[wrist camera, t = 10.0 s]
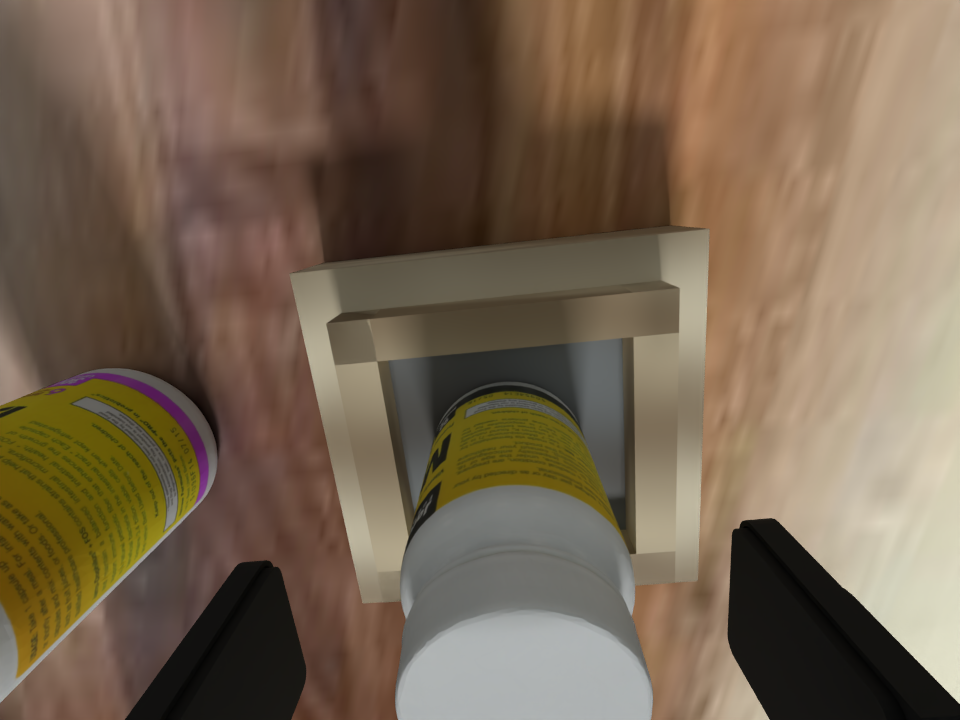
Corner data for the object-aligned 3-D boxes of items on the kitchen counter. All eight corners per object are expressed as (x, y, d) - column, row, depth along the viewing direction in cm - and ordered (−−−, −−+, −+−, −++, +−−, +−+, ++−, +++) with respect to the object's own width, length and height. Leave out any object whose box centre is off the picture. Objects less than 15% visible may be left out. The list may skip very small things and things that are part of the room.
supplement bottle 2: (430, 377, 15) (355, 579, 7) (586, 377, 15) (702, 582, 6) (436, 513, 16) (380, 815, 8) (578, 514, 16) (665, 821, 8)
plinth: (667, 526, 20) (715, 612, 16) (380, 548, 20) (351, 635, 16) (671, 225, 16) (733, 230, 12) (323, 263, 17) (268, 280, 13)
